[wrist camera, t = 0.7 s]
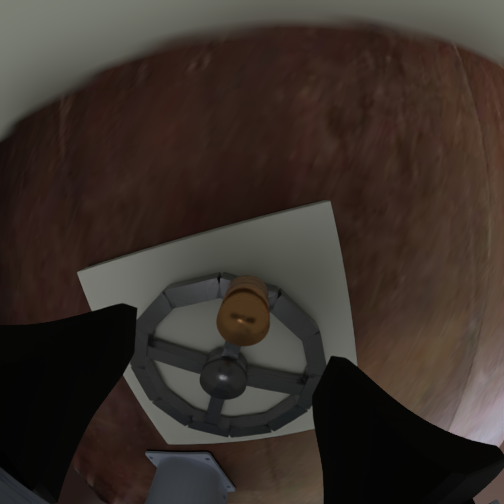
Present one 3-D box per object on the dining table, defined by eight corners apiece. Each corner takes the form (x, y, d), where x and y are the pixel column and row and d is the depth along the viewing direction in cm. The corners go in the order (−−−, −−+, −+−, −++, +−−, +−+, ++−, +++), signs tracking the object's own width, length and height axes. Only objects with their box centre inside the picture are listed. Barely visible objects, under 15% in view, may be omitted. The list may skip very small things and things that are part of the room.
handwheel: (286, 437, 20) (289, 479, 15) (134, 399, 19) (114, 436, 15) (354, 295, 17) (382, 329, 12) (149, 241, 16) (111, 259, 12)
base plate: (356, 405, 21) (360, 416, 19) (171, 433, 22) (167, 444, 21) (324, 200, 17) (330, 201, 16) (87, 266, 19) (76, 272, 17)
